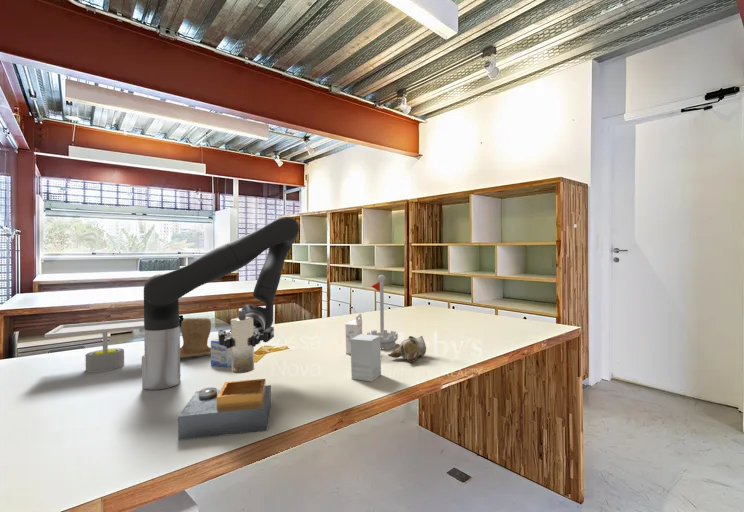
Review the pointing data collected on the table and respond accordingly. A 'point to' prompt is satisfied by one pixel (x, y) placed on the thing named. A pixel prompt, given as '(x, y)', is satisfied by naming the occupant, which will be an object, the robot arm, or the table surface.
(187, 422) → the grey base with tray
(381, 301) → the flag stand
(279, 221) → the robot arm
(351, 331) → the ink cartridge box
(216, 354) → the medicine box
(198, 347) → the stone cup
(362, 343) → the supplement box
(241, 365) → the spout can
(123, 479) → the table surface
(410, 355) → the ceramic sculpture
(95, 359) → the solar panel model
